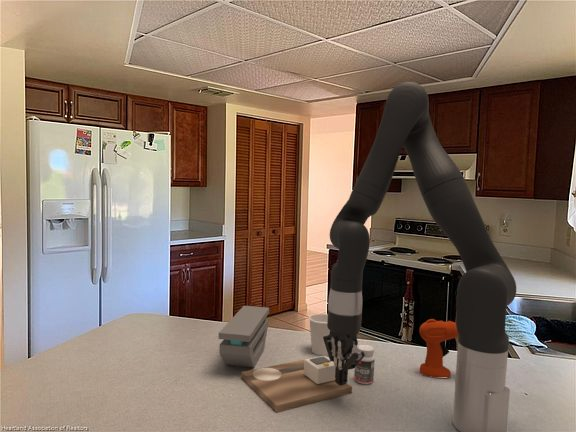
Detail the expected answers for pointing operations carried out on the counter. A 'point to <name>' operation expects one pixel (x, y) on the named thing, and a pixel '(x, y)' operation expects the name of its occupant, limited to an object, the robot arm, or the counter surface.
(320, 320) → the dixie cup
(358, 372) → the pill bottle
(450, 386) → the counter surface
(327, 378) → the white small box
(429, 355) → the toy drill
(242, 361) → the gray lidded box
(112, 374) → the counter surface
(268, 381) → the wooden board
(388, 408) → the counter surface
